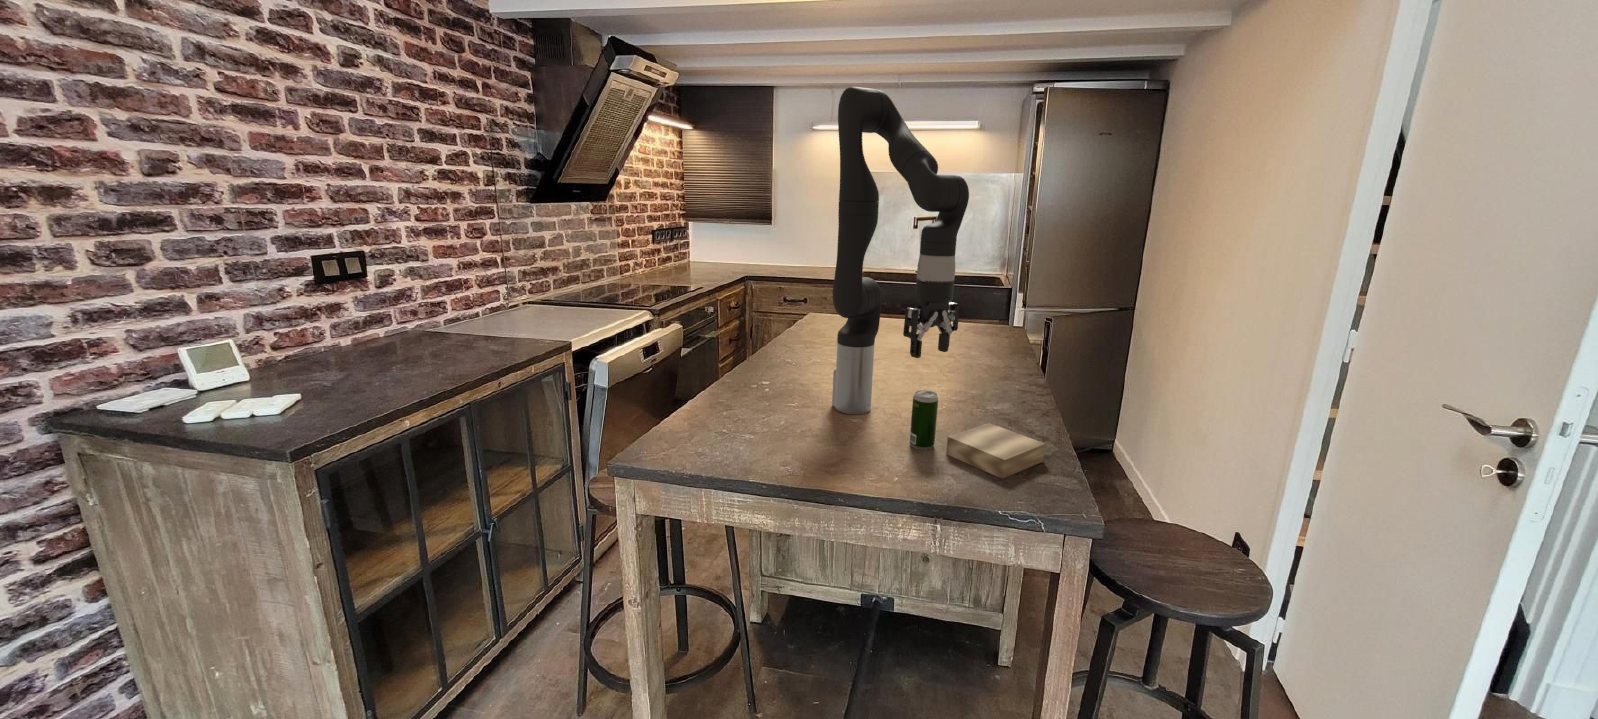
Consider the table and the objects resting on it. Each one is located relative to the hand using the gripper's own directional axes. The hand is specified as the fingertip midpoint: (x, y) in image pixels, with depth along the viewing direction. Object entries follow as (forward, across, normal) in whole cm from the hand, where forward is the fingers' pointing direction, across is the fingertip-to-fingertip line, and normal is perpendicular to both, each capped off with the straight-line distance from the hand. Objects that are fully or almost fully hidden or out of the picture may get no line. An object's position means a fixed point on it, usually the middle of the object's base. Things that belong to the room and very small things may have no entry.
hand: (929, 354), depth 129 cm
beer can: (+21, 0, 0) cm, 21 cm away
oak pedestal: (+21, -8, +13) cm, 26 cm away
